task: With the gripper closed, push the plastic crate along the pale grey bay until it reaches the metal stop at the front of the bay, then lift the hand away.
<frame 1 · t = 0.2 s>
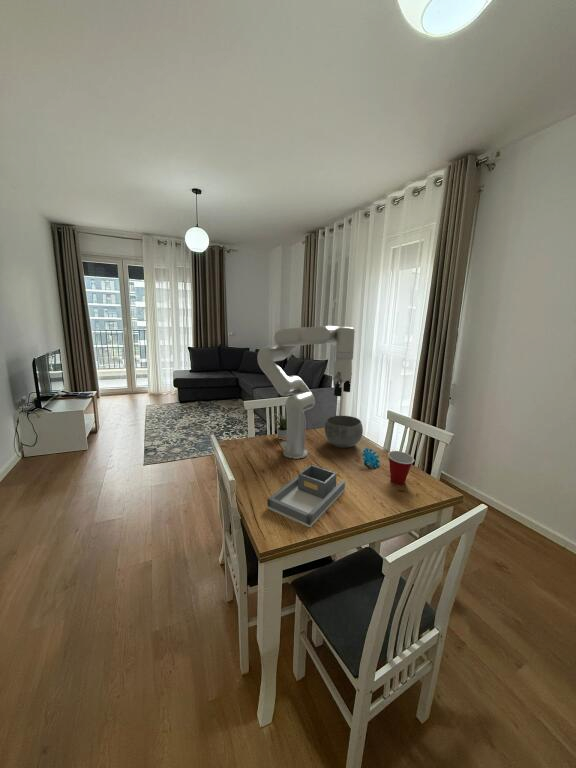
hand: (342, 393, 137), 36 cm above the table, tool pointing down, fingers open, 9 cm apart
house plant: (280, 438, 178), on the table
bowl: (342, 445, 170), on the table
bay: (308, 499, 119), on the table
gear: (371, 465, 148), on the table
crate: (317, 481, 123), point 4 cm above the table, slide at 0.0 cm
plastic cup: (398, 481, 133), on the table
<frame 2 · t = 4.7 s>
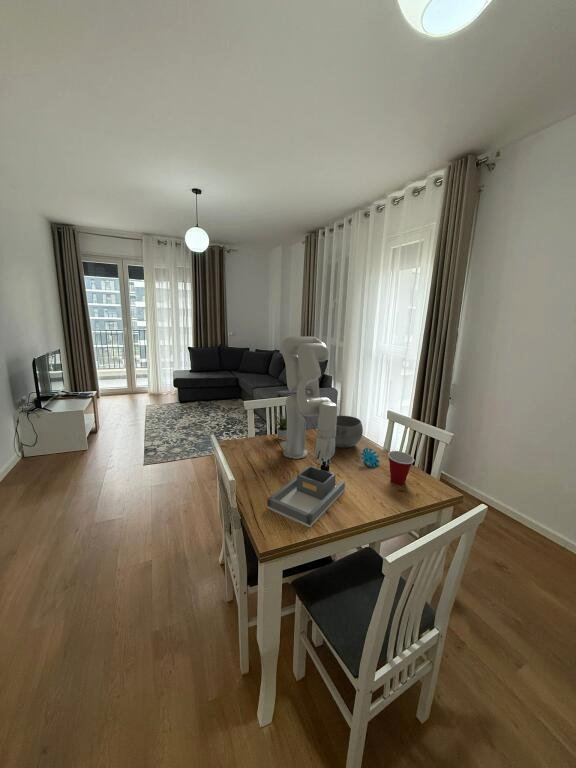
hand: (324, 473, 128), 5 cm above the table, tool pointing down, fingers closed
crate: (315, 482, 122), point 4 cm above the table, slide at 1.0 cm, touching gripper
everything else where it was.
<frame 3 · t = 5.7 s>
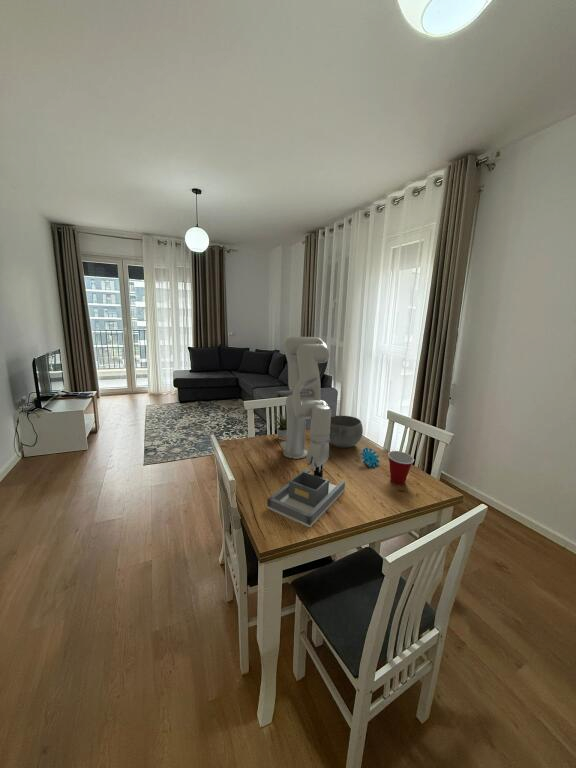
hand: (317, 479, 123), 5 cm above the table, tool pointing down, fingers closed
crate: (308, 488, 118), point 4 cm above the table, slide at 6.8 cm, touching gripper
everything else where it was.
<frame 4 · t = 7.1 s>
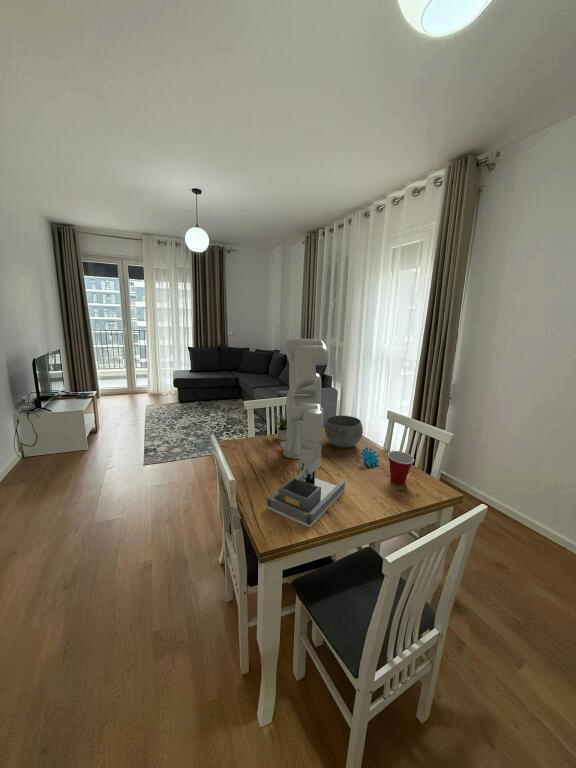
hand: (309, 486, 118), 5 cm above the table, tool pointing down, fingers closed
crate: (299, 496, 112), point 4 cm above the table, slide at 13.2 cm, touching gripper
everything else where it was.
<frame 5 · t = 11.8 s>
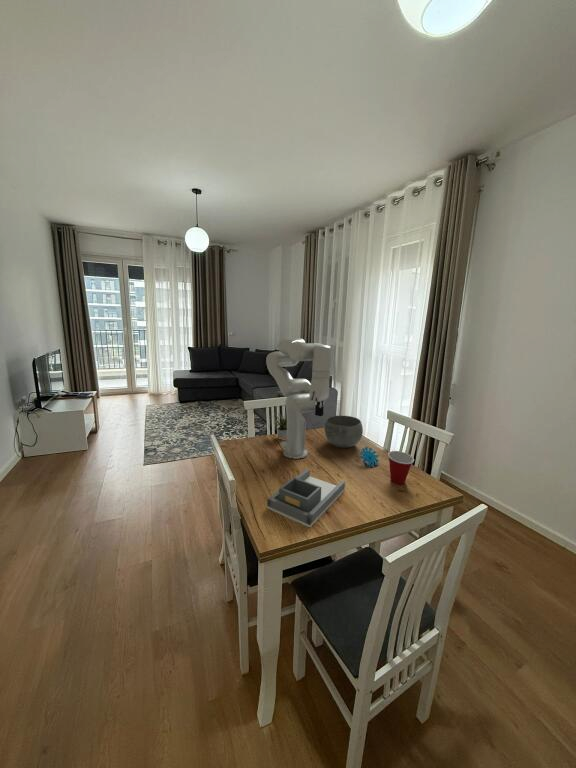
hand: (319, 415, 134), 27 cm above the table, tool pointing down, fingers closed
crate: (299, 496, 113), point 4 cm above the table, slide at 13.0 cm
at the end: crate slide at 13.0 cm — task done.
